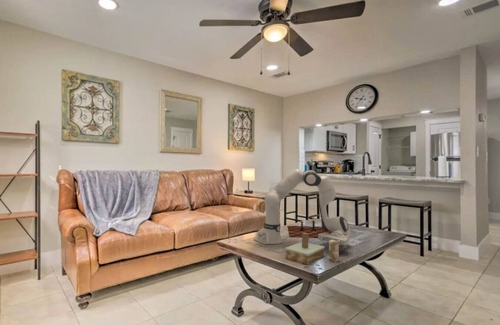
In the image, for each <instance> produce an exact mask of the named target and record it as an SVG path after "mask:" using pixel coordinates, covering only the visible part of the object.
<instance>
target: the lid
mask: <svg viewBox="0 0 500 325" xmlns="http://www.w3.org/2000/svg"><path fill="white" fill-rule="evenodd" d="M309 239H310V238H309V234H308V233H302V238H301V241H300V242H296V243H294V244H292V245H290V246H287V247H284V251H286V250H287V251H291V252H294V253H298V254H301V255H305V256H310V255H312V254H315V253H317V252H319V251H321V250H323V249H324V250H325V248H326V246H324V245H319V244H315V243H312V242H309Z"/></svg>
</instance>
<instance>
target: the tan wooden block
mask: <svg viewBox="0 0 500 325" xmlns="http://www.w3.org/2000/svg"><path fill="white" fill-rule="evenodd" d="M339 250H340V244H339V241H336V240H331V241H329V242H328V261H330V262H334V263H336V262H338V261H339V260H340V259H339V258H340V257H339V256H340V255H339V253H340V252H339Z"/></svg>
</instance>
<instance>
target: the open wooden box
mask: <svg viewBox="0 0 500 325" xmlns="http://www.w3.org/2000/svg"><path fill="white" fill-rule="evenodd" d="M324 254H325V249H323V250H321V251H319V252H317V253H315V254H312V255H310V256H305V255H301V254H298V253H294V252H291V251H287V250H285V258H286V259H288V260H292V261H295V262H298V263H302V264H304V265H309V264H312V263H314V262H315V261H318V260H319V259H321V258H323V257H324Z"/></svg>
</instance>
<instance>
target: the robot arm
mask: <svg viewBox="0 0 500 325" xmlns="http://www.w3.org/2000/svg"><path fill="white" fill-rule="evenodd" d="M301 183H304V184H305V185H306V186H308V187H317V188H318V191H319V194H320V197H319V199H318V208H319V214H320V219H321V227H322V228H323V229H324V230H325V231H326V232H330V231H333V232H332V233H331V234H326V233H322V234H319V235H318V238H317V239H318V240H320V241H321V242H324V241H325V242H328V243H329V241H331V240H336V241H339V246H347V245H349V238H350V237H351V231H350V230H349V224H348V220H346V218H345V217H344V216H335V217H328V213H327V212H328V211H327V205H329V204H330V203H332V202H333V201H334V200H335V199H336V196H337V194H336V189H335V187H334V185H333V182H332V180H331V179H330V177H329V176H328V175H319V174H318V173H317V171H314V169H308V170H305V171H302V170H301V169H300V168H295V169H293V170H291V171H290V172H288V173H287V175H286V176H285V177H284V178H282V179H281V180H280V181H279V182H278V183H277V184H276V185H275V186H274V187H273V189H272V190H270V191H269V192H267V194H266V195H264V208H265V222H264V223H262V226H263V227H262V228H260V229H259V230H258V231H257V233H256V236H255V237H253V240H254V241H257V242H259V243H261V244H264V245H277V244H282V242H283V241H282V235H281V211H280V202H282V200H284V199H285V197H287V196H288V195H290V193H291V192H293V190H294V189H295V188H296V187H298V185H299V184H301Z"/></svg>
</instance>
